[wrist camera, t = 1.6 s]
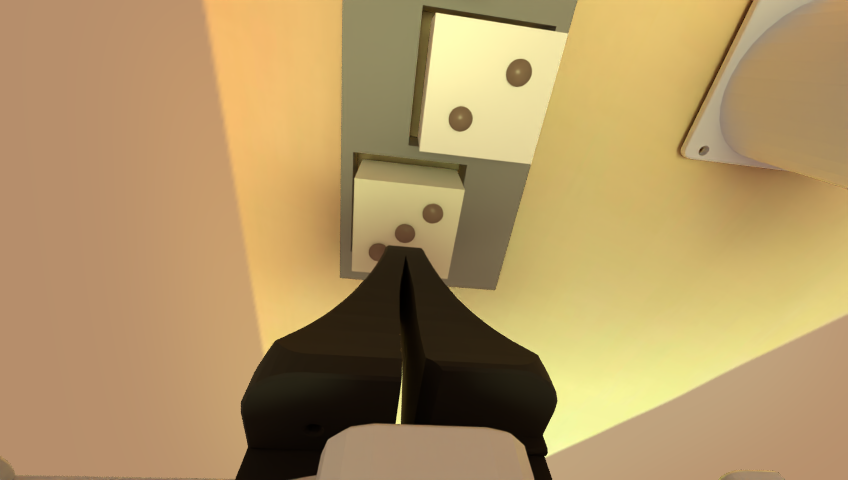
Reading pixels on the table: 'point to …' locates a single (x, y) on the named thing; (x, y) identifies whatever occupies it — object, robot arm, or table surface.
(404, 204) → the tile three
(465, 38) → the tile two
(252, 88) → the table surface
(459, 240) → the tile board
